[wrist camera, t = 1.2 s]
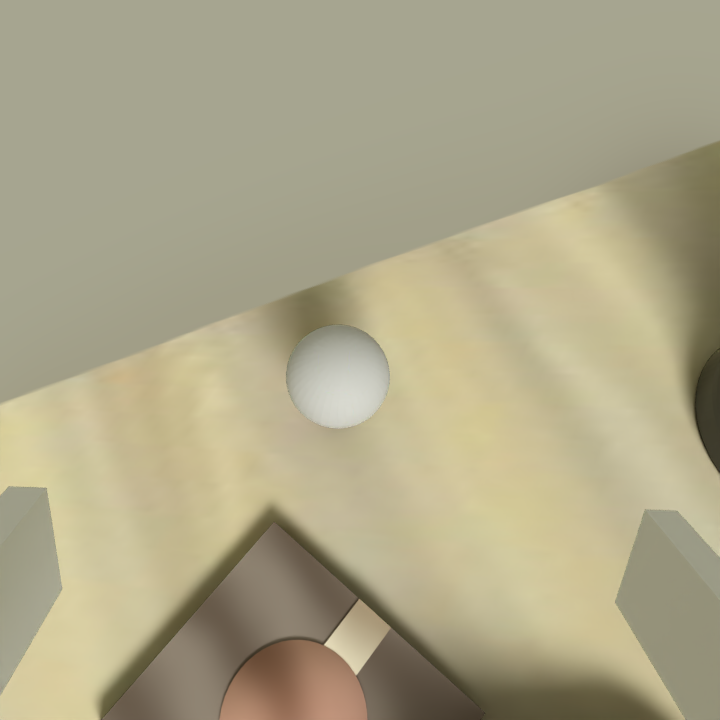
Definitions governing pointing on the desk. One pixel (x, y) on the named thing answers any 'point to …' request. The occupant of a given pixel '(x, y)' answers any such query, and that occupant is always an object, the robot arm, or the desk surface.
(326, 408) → the light bulb
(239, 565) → the board
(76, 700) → the desk surface
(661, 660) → the robot arm
